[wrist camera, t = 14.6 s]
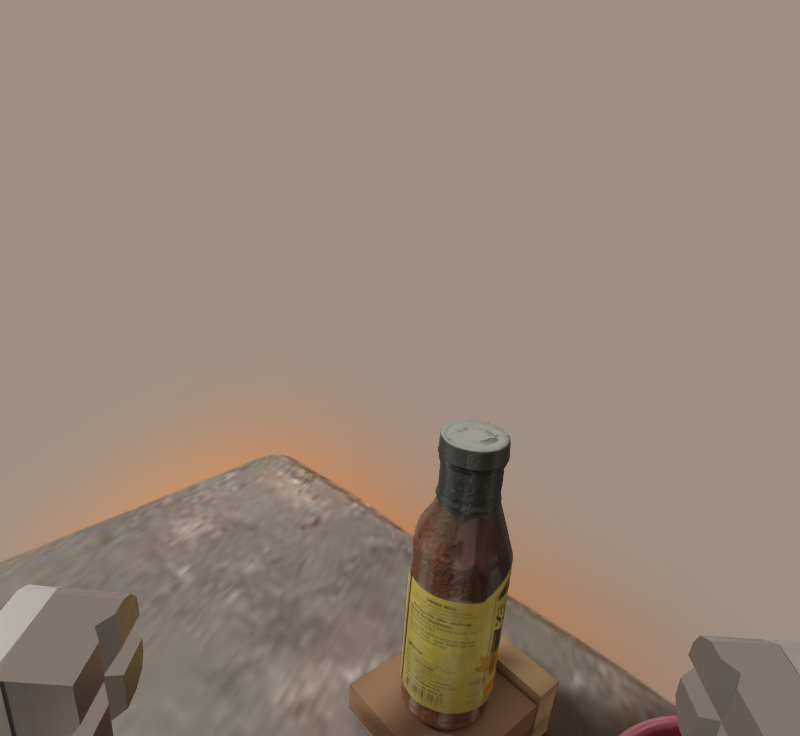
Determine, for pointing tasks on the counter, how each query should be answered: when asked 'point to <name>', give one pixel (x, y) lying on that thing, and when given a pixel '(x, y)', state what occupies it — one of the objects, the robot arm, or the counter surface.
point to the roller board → (493, 731)
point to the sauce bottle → (458, 581)
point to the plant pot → (655, 727)
